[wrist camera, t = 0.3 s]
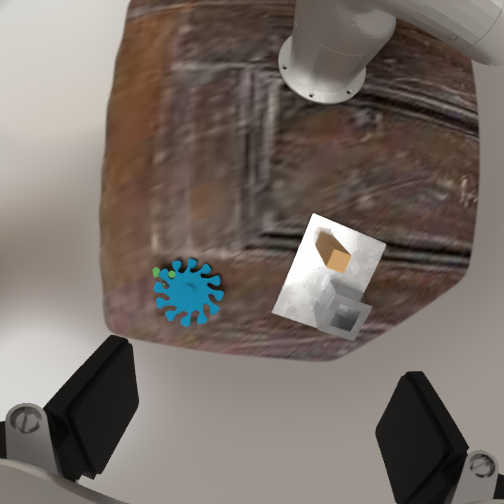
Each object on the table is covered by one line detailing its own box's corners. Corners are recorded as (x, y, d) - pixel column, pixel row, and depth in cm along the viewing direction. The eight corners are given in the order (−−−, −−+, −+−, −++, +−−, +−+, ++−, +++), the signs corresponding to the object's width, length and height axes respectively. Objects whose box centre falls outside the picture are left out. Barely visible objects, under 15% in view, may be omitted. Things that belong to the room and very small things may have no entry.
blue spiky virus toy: (237, 283, 43) (197, 339, 38) (230, 296, 48) (194, 345, 43) (176, 240, 44) (133, 290, 39) (176, 257, 49) (137, 302, 44)
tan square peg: (320, 231, 41) (334, 248, 31) (334, 236, 41) (351, 255, 31) (314, 245, 42) (326, 267, 32) (328, 250, 42) (343, 273, 32)
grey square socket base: (312, 212, 41) (318, 219, 36) (384, 243, 41) (399, 253, 36) (271, 310, 45) (271, 328, 40) (340, 333, 46) (347, 352, 40)
